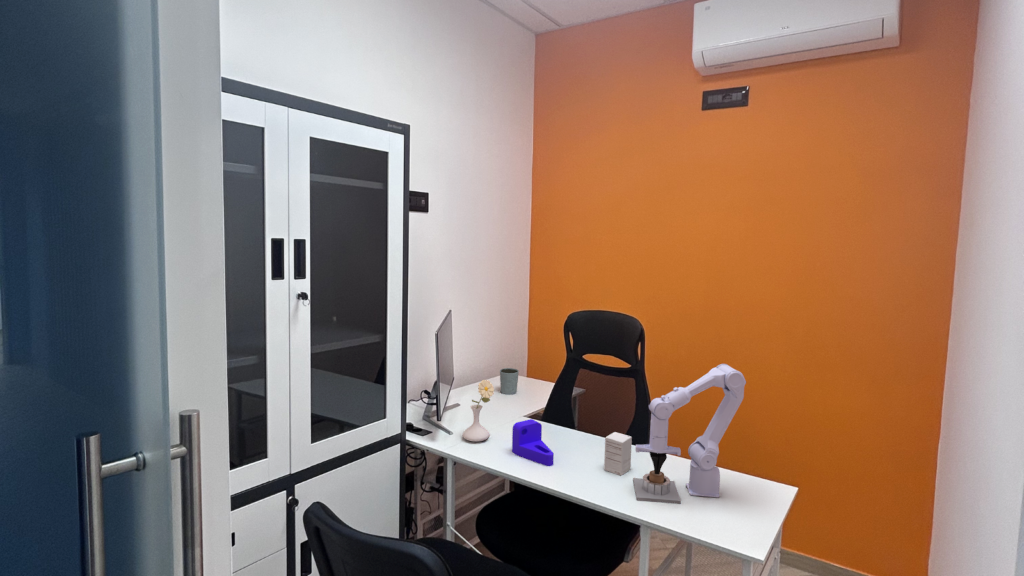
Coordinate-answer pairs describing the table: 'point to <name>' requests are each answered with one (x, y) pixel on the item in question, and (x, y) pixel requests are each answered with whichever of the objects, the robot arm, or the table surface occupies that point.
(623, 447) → the supplement box
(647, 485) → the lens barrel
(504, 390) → the green cylindrical pot
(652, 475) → the walnut cap
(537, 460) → the bracket
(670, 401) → the robot arm
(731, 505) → the table surface
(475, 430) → the flower in vase
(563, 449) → the table surface
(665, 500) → the mount plate
